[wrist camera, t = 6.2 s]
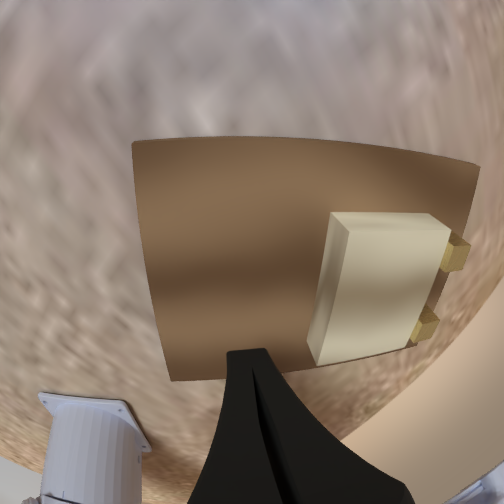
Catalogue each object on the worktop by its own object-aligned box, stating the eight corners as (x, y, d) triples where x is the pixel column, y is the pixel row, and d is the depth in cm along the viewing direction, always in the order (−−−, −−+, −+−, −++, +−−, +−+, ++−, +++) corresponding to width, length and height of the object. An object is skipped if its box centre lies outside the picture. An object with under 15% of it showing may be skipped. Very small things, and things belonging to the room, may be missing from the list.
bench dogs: (411, 313, 18) (430, 338, 16) (394, 316, 17) (413, 343, 15) (443, 224, 14) (471, 245, 12) (425, 224, 14) (453, 246, 12)
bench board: (412, 340, 20) (416, 345, 20) (171, 374, 18) (170, 381, 17) (473, 163, 13) (480, 166, 13) (134, 141, 11) (131, 143, 10)
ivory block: (390, 326, 18) (404, 347, 16) (306, 340, 17) (316, 366, 15) (428, 213, 14) (451, 230, 12) (330, 212, 13) (349, 231, 11)
